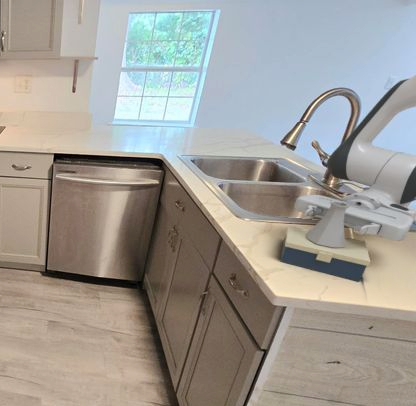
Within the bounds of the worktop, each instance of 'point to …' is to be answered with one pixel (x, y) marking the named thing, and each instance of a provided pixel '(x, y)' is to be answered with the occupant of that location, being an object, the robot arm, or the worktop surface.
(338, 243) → the flask
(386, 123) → the robot arm
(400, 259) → the worktop surface
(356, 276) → the lunchbox
